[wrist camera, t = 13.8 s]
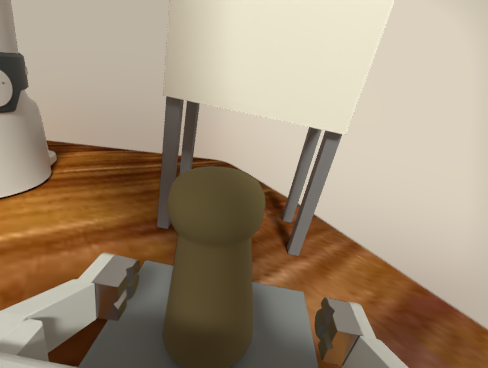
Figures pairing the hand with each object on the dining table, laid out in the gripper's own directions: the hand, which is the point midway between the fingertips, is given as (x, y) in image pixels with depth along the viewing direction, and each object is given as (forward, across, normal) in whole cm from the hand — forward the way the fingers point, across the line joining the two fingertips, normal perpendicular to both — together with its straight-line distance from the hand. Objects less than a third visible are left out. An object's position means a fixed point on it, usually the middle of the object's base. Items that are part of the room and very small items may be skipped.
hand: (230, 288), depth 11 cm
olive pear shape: (+4, +1, +7) cm, 8 cm away
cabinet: (+19, 0, +8) cm, 20 cm away
